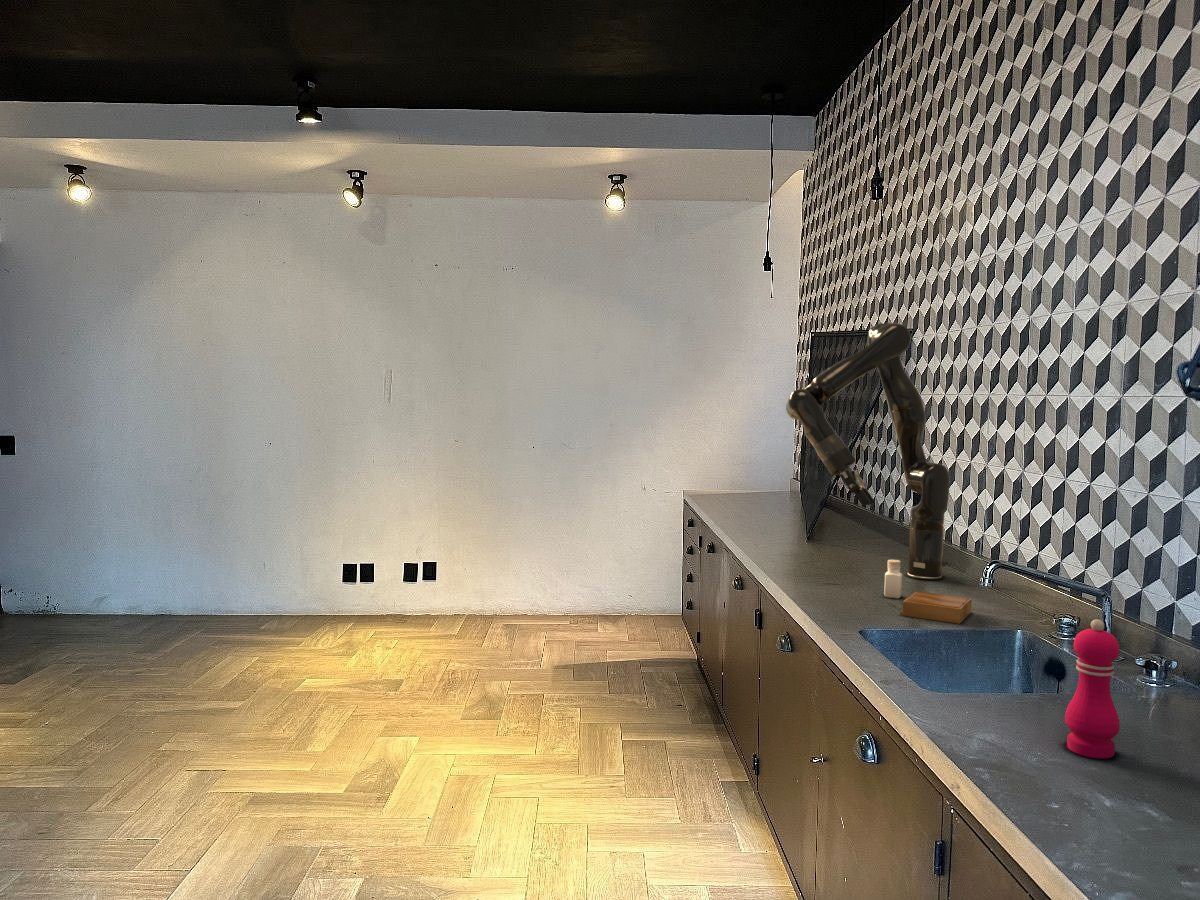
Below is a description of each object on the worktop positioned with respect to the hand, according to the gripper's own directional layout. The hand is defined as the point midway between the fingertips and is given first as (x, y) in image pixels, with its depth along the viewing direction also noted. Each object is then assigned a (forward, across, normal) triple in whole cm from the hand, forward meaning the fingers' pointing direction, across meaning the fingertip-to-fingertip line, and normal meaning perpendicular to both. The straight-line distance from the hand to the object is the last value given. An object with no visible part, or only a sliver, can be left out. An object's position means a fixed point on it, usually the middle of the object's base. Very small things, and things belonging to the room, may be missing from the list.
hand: (869, 504), depth 241 cm
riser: (+31, -16, 0) cm, 35 cm away
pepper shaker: (+23, -2, +8) cm, 25 cm away
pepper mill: (+52, -95, -18) cm, 110 cm away
